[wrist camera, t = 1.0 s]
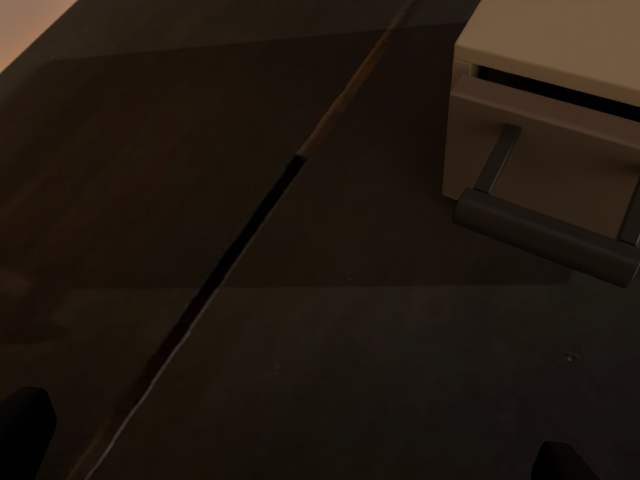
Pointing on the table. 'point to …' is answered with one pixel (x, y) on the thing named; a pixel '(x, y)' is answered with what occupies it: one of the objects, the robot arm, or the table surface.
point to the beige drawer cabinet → (556, 44)
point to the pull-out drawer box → (547, 171)
